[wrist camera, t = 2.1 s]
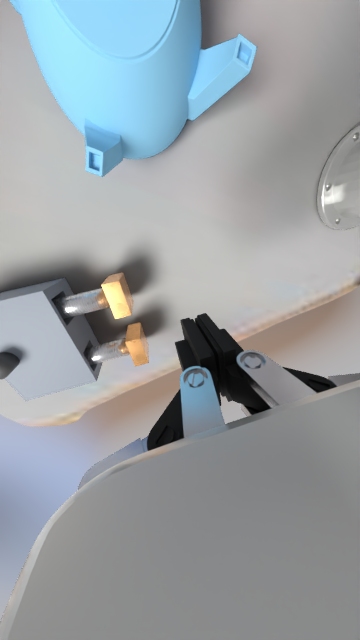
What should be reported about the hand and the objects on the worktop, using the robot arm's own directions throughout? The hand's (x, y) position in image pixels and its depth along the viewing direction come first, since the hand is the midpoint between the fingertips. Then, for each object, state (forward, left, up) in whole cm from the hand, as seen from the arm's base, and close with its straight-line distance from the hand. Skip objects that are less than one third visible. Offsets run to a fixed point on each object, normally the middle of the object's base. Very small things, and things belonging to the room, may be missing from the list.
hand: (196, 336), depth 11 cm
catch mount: (+19, +4, -17) cm, 26 cm away
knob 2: (+12, +8, -16) cm, 21 cm away
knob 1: (+12, 0, -16) cm, 20 cm away
